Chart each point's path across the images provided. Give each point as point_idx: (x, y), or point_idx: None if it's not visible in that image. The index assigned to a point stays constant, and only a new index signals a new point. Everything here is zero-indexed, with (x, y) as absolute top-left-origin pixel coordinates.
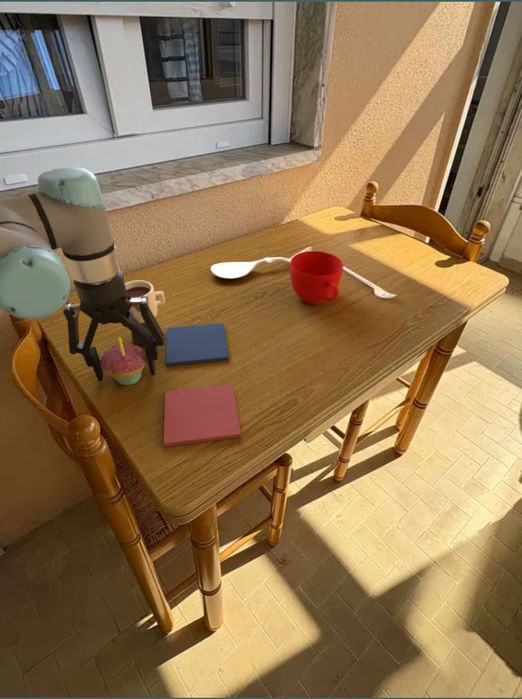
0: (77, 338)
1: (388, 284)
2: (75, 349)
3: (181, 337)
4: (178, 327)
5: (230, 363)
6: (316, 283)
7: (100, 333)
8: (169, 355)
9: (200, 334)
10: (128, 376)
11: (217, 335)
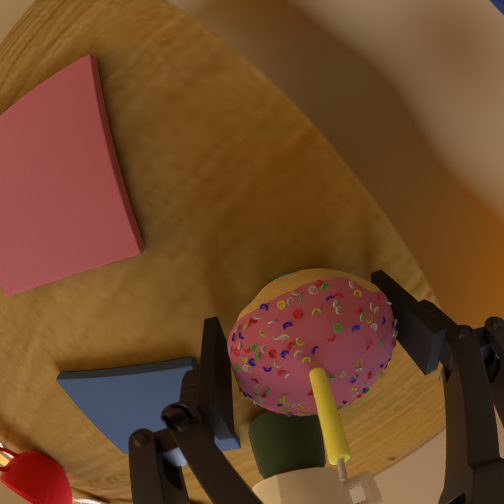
0: (500, 379)
1: None
2: (495, 334)
3: None
4: None
5: (52, 363)
6: (14, 476)
7: (388, 403)
8: None
9: None
10: (275, 282)
11: (114, 432)
